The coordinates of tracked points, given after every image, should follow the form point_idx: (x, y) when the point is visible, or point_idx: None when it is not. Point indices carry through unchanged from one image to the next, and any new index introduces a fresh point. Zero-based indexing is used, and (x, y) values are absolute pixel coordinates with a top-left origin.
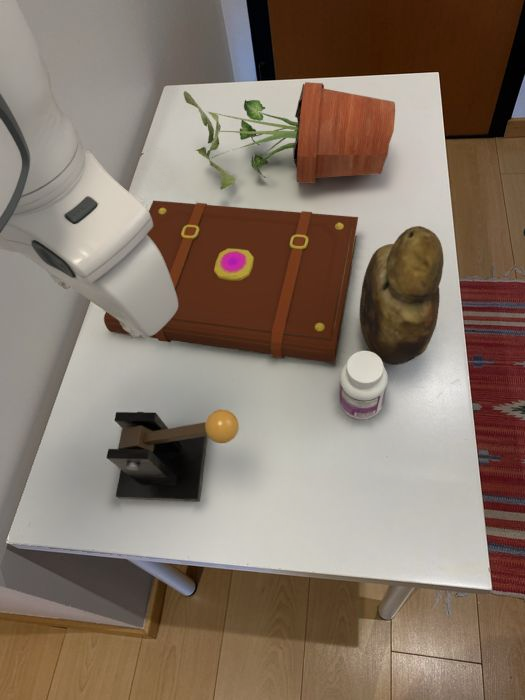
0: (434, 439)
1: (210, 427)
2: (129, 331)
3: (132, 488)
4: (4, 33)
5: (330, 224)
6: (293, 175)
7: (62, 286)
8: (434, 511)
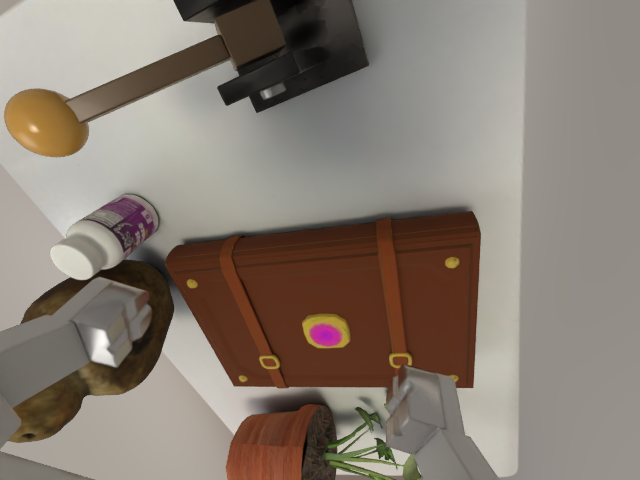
0: (59, 197)
1: (28, 111)
2: (90, 297)
3: None
4: None
5: (252, 379)
6: (335, 406)
7: (414, 375)
8: (5, 125)
